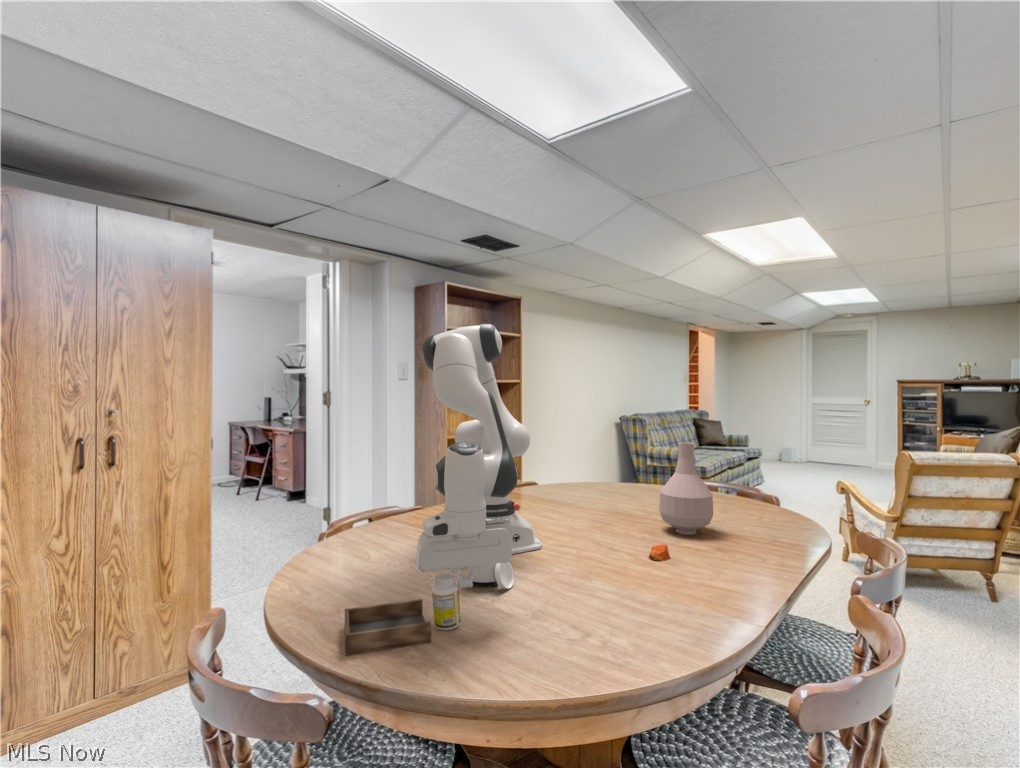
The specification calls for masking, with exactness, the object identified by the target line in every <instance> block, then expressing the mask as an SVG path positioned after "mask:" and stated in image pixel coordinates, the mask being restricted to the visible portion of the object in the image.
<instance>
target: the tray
mask: <svg viewBox="0 0 1020 768" xmlns="http://www.w3.org/2000/svg"><path fill="white" fill-rule="evenodd" d="M423 610H424V609H423V598H420V599H410V600H404V601H397V602H387V603H381V604H374V605H367V606H358V607H352V608H351V607H350V608H344V655H345V657H349V656H354V655H355V656H357V655H363V654H368V653H375V652H381V651H387V650H393V649H394V650H395V649H399V648H406V647H411V646H413V647H414V646H420V645H424V644H431V643H432V622H431V621H425V617H424V614H423V613H424V612H423Z"/></svg>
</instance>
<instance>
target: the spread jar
mask: <svg viewBox="0 0 1020 768" xmlns="http://www.w3.org/2000/svg"><path fill="white" fill-rule="evenodd" d="M470 570H471V569H470V568H469V571H470ZM514 583H515V572H514V569H513V566H512V564H511V561H509V562H506V563H497V564H488V565H479V566H478V571H477V573H476V575H475V577H474V578H473V586H474V587H477V588H492V587H495V586H497V585H498V587H499V588H500V589H501V590H507V589H511V588H512V587H513V586H514Z"/></svg>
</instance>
